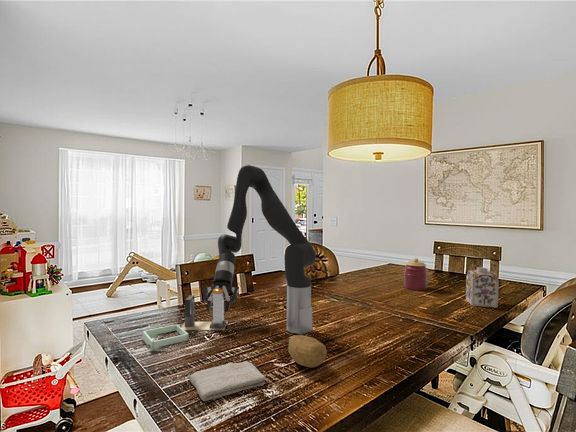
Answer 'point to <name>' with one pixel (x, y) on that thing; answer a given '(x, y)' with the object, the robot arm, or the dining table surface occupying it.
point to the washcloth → (226, 379)
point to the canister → (415, 275)
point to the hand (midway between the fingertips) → (217, 311)
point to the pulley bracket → (190, 318)
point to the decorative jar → (482, 288)
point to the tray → (156, 345)
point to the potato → (307, 351)
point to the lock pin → (218, 306)
